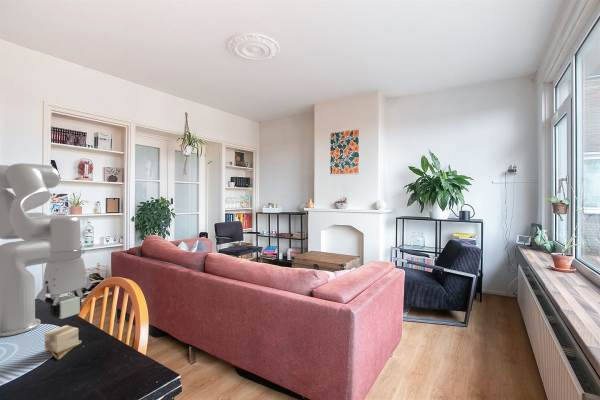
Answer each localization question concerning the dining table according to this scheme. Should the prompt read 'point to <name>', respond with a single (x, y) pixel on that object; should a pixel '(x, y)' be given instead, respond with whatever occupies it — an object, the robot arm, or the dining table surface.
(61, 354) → the shard
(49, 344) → the beige metal block
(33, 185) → the robot arm
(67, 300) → the sage block
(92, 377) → the dining table surface
